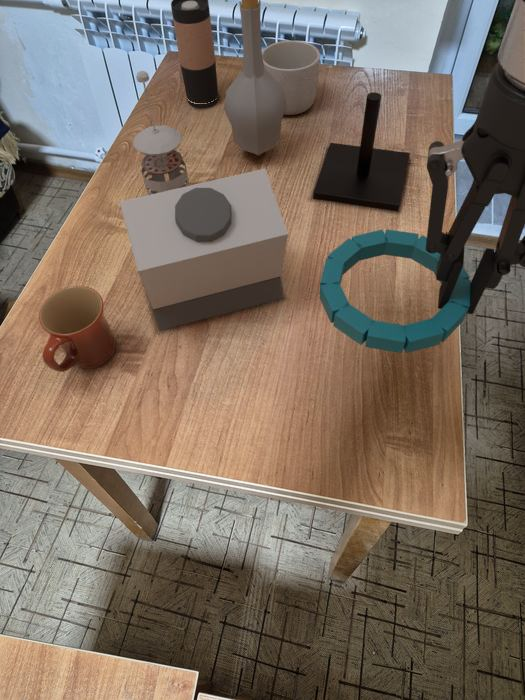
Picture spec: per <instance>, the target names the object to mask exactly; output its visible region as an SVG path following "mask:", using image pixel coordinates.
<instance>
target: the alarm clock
mask: <svg viewBox="0 0 525 700" xmlns="http://www.w3.org/2000/svg"><path fill="white" fill-rule="evenodd" d="M189 185H190V184H189ZM119 205H120V209H121V213H122V216H123V220H124V223H125V228H126V231H127V235H128V240H129V244H130V248H131V251H132V254H133V257H134V262H135V265H136V270H137V273H138V275H139V279H140V280H141V283H142V285H143V288H144V290H145V293H146V295H147V298H148V301H149V303H150V306H151V308H152V311H153V315H154V319H155V321H156V324H157V328H158V331H159V332H160V331H165V330H169V329H171V328H176V327H179V326H183V325H187V324H191V323H194V322H199V321H202V320H205V319H210V318H213V317H217V316H220V315H224V314H229V313H233V312H235V311H240V310H243V309H247V308H251V307H255V306H258V305H262V304H267V303H270V302H274V301H277V300H281V299H284V294H283V286H282V278H281V277H282V272H283V266H284V260H285V254H286V250H287V243H288V239H289V238H288V237H289V232H288V229H287V226H286V224H285V221H284V218H283V215H282V213H281V210H280V206H279V204H278V201H277V199H276V195H275V192H274V190H273V187H272V184H271V181H270V178H269V176H268V173H267V170H266V168H262V169H257V170H252V171H249V172H243V173H239V174H235V175H234V174H233V175H230V176H226V177H222V178H217V179H213V180H207V181H203V182H199V183H196V184H191V185H190V186H188V185H187V186H186V187H182V188H177V189H173V190H168V191H164V192H160V193H155V194H151V195H148V194H146V195H143V196H137V197H134V198H130V199H124V200H120V201H119Z"/></svg>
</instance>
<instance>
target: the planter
mask: <svg viewBox="0 0 525 700" xmlns="http://www.w3.org/2000/svg"><path fill="white" fill-rule="evenodd" d="M262 57H263V64H264V69H265V70H266V71H267V72H268V73H269V74H270V75H271V76H272V77H273V78H274V79H275V80H276V81H277V82H278V83H279V84H280V85H281V86H282V87H283V91H284V96H285V100H286V104H287V105H286V109H285V112H284V115H283V116H295V115H299V114H302V113H304V112H307V111H308V110H309V109H310V108H311V107H312V106H313V104H314V102H315V99H316V96H317V90H318V83H319V74H320V73H319V71H320V61H321V53H320V51H319V49H318V48H317V47H316V46H315V45H313V44H311V43H308V42H305V41H302V40H281V41H277V42H274V43H271V44H269V45H267V46H266V47H265V48H263V50H262Z"/></svg>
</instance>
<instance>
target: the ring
mask: <svg viewBox="0 0 525 700" xmlns="http://www.w3.org/2000/svg"><path fill="white" fill-rule="evenodd" d="M419 236H420V235H419V233H416V232H410V231H409V232H408V231H402V230H393V229H387V228H386V229H385V231H384V230H383V229H378V230H373V231H370V232H366V233H362V234H361V233H360V234H357V235H353V236H351V238H350V237H348V238H347V239H346V240H345V241H343V242H342V243H341V244H340V245H339V246H338V247H336V248H335V249H334V250H333V251H331V252H330V253H329V254H328V255H327V257H326V259H325V262H324V264H323V270H322V272H321V277H320V280H319V292H318V293H319V299H320V302H321V304H322V306H323V309H324V311H325V313H326V315H327V317H328V320H329V322H330V323H331V324H332V323H333V326H332V327H334V328H336V329H337V330H339V331H340V332H341V333H343V334H344V335H345V336H347V337H348V338H350V339H351V340H353V341H354V342H355V343H357V344H358V345H360V346H362V345H363V344H364V343H365V345H364V347H365V348H369V349H375V350H379V351H380V350H381V351H387V352H392V353H397V354H402V353H403V351H404V352H405V354H409V353H413V352H416V351H420V350H424V349H428V348H431V347H436V346H439V345H441V343H444V342H446V340H447V339H448V338H449V337H450V336H451V335H452V334H453V333H454V332H455V331H456V329H458V327H459V326H460V325H461V324H462V323H463V322H464V320H465V318H466V316H467V314H468V313H467V311H468V309H469V307H470V286H471V281H472V279H470V274H469V273H468V271H467V270H466V269H465V268H464V267H463V268H462V270H461V273H460V275H459V277H458V280H457V282H456V285H455V287H454V290H453V292H452V294H451V297H450V299H449V301H448V303H447V304H446V305H445V306H444V307H443V308H442V309H439V310H438V311H437V313H435V315H433V317H431V318H428V319H424V320H423V319H422V320H420V321H415V322H412V323H407V324H404V325H403V324H398V323H393V322H387V321H380V320H376V319H375V320H374V319H373V318H371V317H370V316H368V315H367V314H365V313H364V312H362V311H361V310H359V309H358V308H356V307H354V306H353V305H352V304H351V303H350V302H349V300H348V298H347V296H346V294H345V291H344V289H343V288H342V286H341V283H342V281H343V276H344V275H345V274H346V273H347V272H349V270H350V269H352V268H353V267H354V266H355V265H356V264H357V263H359V262H360V261H364V260H368V259H372V258H376V257H380V256H390V257H395V258H397V257H398V258H404V259H411V260H412V261H414V262H416V263H417V264H419V265H421V266H422V267H425V268H426V269H428V270H429V271H431V272H433V274H434V275H435V276H436V269H437V264H438V261H439V258H440V254H439V253H437V252H436V253H429V252H427V251H426V241H427V236H425V235H423V234H422V235H421V236H420V237H419ZM439 283H440V285H441V284H442V281H439Z"/></svg>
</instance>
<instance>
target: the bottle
mask: <svg viewBox="0 0 525 700" xmlns="http://www.w3.org/2000/svg"><path fill="white" fill-rule="evenodd" d="M261 2H262V1H261V0H241V1H238V4H239V11H240V21H241V36H242V53H243V54H242V70H241V71H240V72H239V74H238V75H237V76H236V77H235V79H234V80H233V81H232V82H231V84H230V85H229V87H227V89H226V91H225V99H224V107H223V110H224V112H225V115H226V117H227V119H228V122H229V124H230V126H231V132H232V137H233V143H234V144H235V145H237V146H238V147H239V149H241V150H243V151H245V152H248V153H251V154H255V155H256V156H257V157H259V156H261V155H262V154H264V153H265V152H267V151H268V152H269V150H272V149H273V148H275V147H276V146H277V143H278V142H280V140H281V131H282V121H283V118H284V116H285V115H284V112H285V109H286V105H287V104H286V100H285V96H284V91H283V87H282V86H281V85H280V84H279V83H278V82H277V81H276V80H275V79H274V78H273V77H272V76H271V75H270V74H269V73H268V72H267V71H266V70H265V69H264V64H263V57H262V51H263V50H262V28H261V25H262V24H261V4H262V3H261Z"/></svg>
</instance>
